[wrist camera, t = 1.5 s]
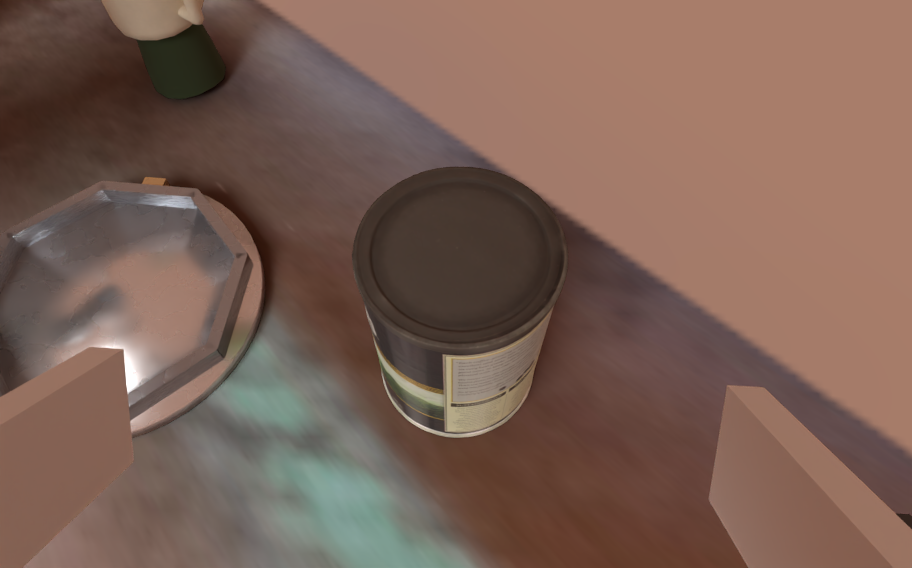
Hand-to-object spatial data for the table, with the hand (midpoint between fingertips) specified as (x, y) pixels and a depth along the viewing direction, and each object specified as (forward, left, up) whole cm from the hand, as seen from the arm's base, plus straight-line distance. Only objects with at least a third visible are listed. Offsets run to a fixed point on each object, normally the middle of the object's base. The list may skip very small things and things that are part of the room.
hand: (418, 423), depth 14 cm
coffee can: (0, +12, -26) cm, 29 cm away
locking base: (-24, +14, -26) cm, 38 cm away
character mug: (-26, +37, -26) cm, 52 cm away
